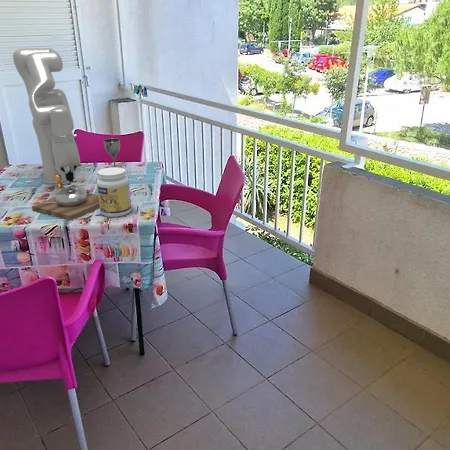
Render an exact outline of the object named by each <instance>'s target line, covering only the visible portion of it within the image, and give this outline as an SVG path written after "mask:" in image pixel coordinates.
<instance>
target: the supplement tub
mask: <svg viewBox="0 0 450 450" xmlns="http://www.w3.org/2000/svg"><path fill="white" fill-rule="evenodd" d="M96 188H97V195H98V197H99V205H100V208H99V210H100V213H101V214H102V216H104V217H110V218H117V217H122V216H125V215H128V214H129V213H130V212H131V211H132V208H133V207H132V199H131V190H130V180H129V177H128V176H127V173H126V169H125V168H123V167H122V168H118V167H113V166H111V168H110V167H106V168H101V169H100V170H97V180H96Z"/></svg>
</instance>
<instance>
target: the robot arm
mask: <svg viewBox="0 0 450 450" xmlns="http://www.w3.org/2000/svg"><path fill="white" fill-rule="evenodd" d="M12 60H13V64H14V66H15V69H16V71H17V72H18V74H19V76H20V77H21V79H22V81H23V83H24V85H25V89H26V92H27V96H28V106H29V109H30V113H31V116H32V126H33V129H34V133H35V135H36V139H37V143H38V146H39V152H40V159H41V163H42V168H43V170H42V171H41V172H40V175H43V177H42V180H41V181H42V183H44V184H48V185H54V184H55V185H56V183H55V177H54V175H55V174H61V179H62V184H63V183H65V182H68V183H73V182H74V180H75V176H74V175H75V174H74V172H75V170H76V169H78V168H80V167H81V166H82V163H81V158H80V153H79V149H78V145H77V142H76V140H75V139H76V138H77V134H73V130H74V126H75V124H74V121H73V116H72V113H71V109H70V105H69V101H68V98H67V96H66V94H65V91H63V90H62V89H59V88H55V87H56V81H55V80H54V76H53V73H58V72H62V71H63V67H64V63H63V60H62V57H61V55H60V53H58V52H57V51H56V50H55V49H53V48H51V47H38V48H37V47H35V48H34V47H33V48H32V47H31V48H28V47H27V48H20V49H19V48H18V49H17V50H15V51H14V52H13V54H12ZM67 167H69V169H68V168H67Z"/></svg>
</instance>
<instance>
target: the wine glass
mask: <svg viewBox="0 0 450 450" xmlns="http://www.w3.org/2000/svg"><path fill="white" fill-rule="evenodd" d="M120 141H121V140H120V138H117V137H115V138H106V139H103V145H104V149H105V151H106V154H107V153H108V154H109V156H111V158H112V162H113V166H111V167H118V166H116V157H117V155H118V154H119V152H120V149H121V142H120ZM111 167H109V168H111ZM121 167H122V166H119V167H118V168H121Z"/></svg>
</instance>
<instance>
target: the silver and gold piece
mask: <svg viewBox="0 0 450 450" xmlns="http://www.w3.org/2000/svg"><path fill="white" fill-rule="evenodd" d="M54 177H55V183H56V184H55V189H54V197H56V203H57V205H59V206H63V207H71V206H77V205H81V204H83V203H85V202H86V201H87V194H86V193H87V189H86V188H81V187H80V184H73V185H70V187H69V188H67V187H66V186H64V185H63V183H62V179H61V174H55V175H54Z"/></svg>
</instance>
